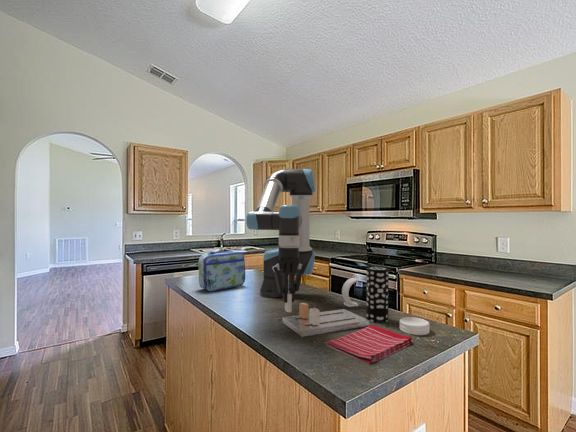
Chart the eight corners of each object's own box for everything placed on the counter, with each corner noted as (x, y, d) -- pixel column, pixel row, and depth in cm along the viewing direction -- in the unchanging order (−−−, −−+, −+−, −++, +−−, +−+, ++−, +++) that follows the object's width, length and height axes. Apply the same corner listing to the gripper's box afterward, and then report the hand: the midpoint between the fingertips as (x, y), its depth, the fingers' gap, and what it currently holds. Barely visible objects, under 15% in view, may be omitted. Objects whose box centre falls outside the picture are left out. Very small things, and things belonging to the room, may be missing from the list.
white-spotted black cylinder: (373, 314, 131) (373, 266, 131) (392, 319, 125) (392, 268, 125) (362, 319, 125) (362, 268, 125) (381, 324, 119) (381, 270, 119)
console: (282, 322, 120) (282, 316, 120) (344, 313, 132) (344, 308, 132) (301, 336, 106) (301, 330, 106) (369, 325, 117) (369, 320, 117)
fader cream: (309, 322, 113) (309, 308, 113) (315, 321, 114) (315, 307, 114) (313, 325, 110) (313, 310, 110) (319, 324, 111) (319, 309, 111)
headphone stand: (358, 306, 144) (358, 279, 144) (346, 307, 142) (347, 280, 142) (353, 303, 148) (353, 277, 148) (341, 304, 146) (341, 278, 146)
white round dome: (393, 329, 114) (393, 319, 114) (409, 324, 120) (409, 315, 120) (419, 338, 106) (419, 327, 106) (435, 332, 112) (435, 322, 112)
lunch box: (204, 293, 166) (205, 253, 166) (196, 289, 174) (196, 251, 174) (247, 287, 182) (247, 250, 182) (237, 283, 190) (237, 249, 191)
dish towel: (414, 345, 101) (414, 336, 101) (370, 367, 86) (370, 357, 86) (369, 330, 114) (369, 323, 114) (324, 347, 99) (324, 338, 99)
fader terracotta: (299, 316, 120) (299, 302, 121) (304, 315, 121) (304, 302, 122) (302, 318, 118) (302, 304, 118) (308, 317, 119) (308, 304, 119)
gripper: (276, 248, 111) (275, 315, 111) (309, 247, 116) (308, 311, 116) (268, 246, 118) (267, 310, 117) (300, 245, 123) (299, 306, 123)
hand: (288, 311), depth 117 cm, fingers closed
